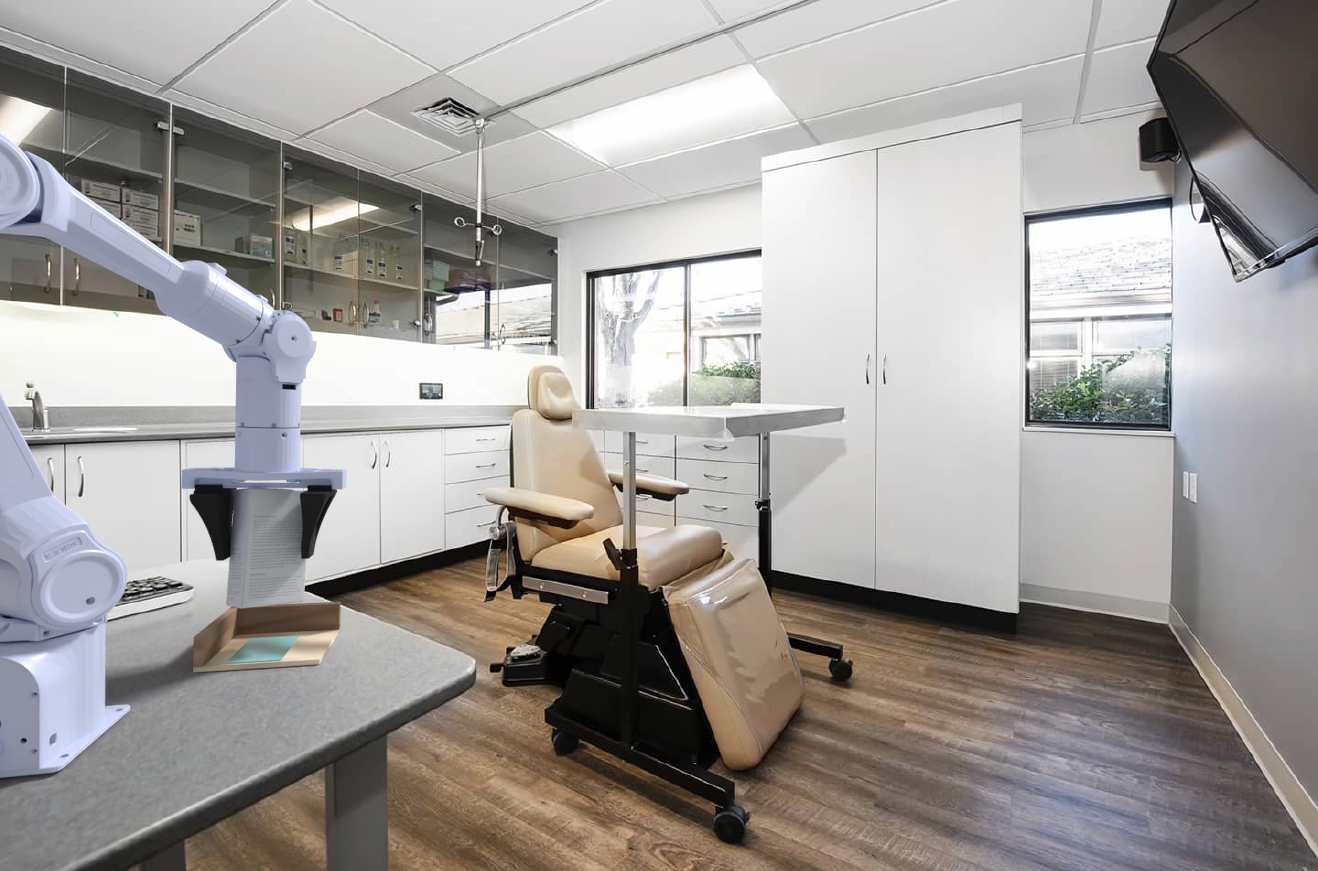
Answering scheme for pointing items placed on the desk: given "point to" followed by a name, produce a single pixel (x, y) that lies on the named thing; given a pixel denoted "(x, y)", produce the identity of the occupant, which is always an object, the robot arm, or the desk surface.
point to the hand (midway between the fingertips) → (266, 557)
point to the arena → (267, 637)
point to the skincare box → (266, 548)
